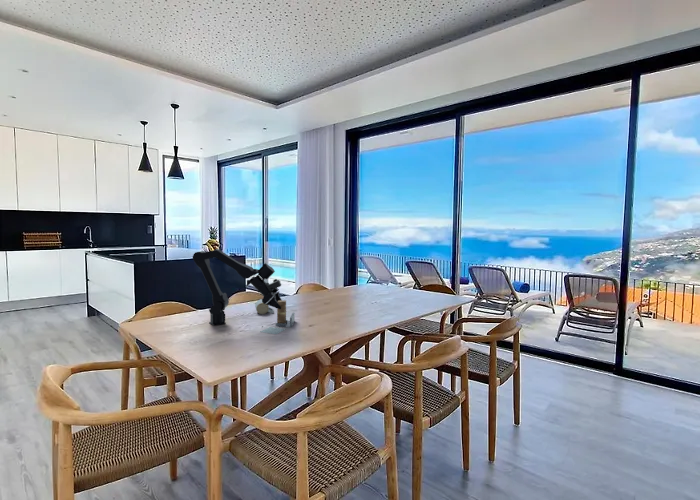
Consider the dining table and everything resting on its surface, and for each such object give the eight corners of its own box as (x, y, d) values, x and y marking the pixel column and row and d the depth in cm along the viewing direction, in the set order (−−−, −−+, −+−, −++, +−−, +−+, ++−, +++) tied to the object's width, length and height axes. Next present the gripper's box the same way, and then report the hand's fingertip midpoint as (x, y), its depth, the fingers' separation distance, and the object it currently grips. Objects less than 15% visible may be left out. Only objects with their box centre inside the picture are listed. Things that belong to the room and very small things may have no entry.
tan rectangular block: (277, 324, 191) (277, 301, 191) (278, 322, 196) (278, 300, 195) (285, 324, 192) (285, 302, 191) (286, 322, 196) (286, 300, 195)
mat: (259, 332, 178) (259, 331, 178) (270, 327, 187) (270, 326, 187) (276, 334, 175) (276, 333, 175) (285, 330, 184) (285, 329, 184)
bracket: (274, 327, 187) (274, 317, 187) (278, 321, 199) (278, 312, 199) (291, 327, 188) (291, 318, 187) (294, 321, 200) (294, 312, 199)
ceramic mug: (256, 315, 212) (256, 302, 211) (255, 312, 220) (255, 299, 219) (274, 314, 215) (275, 301, 215) (273, 311, 223) (273, 298, 222)
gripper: (268, 277, 182) (290, 299, 183) (274, 272, 201) (295, 292, 202) (252, 293, 183) (274, 315, 184) (260, 286, 201) (280, 306, 202)
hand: (282, 306), depth 193 cm, fingers open, 9 cm apart
